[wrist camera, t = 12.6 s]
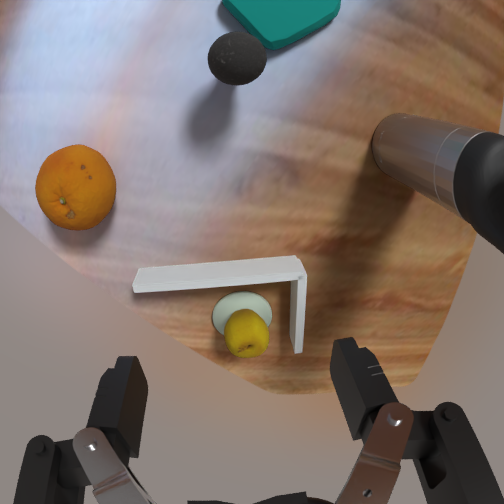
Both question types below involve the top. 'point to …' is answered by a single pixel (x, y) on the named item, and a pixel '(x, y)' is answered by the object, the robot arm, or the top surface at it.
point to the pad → (240, 307)
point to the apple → (246, 334)
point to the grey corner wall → (234, 282)
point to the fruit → (76, 187)
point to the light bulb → (237, 58)
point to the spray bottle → (282, 18)
